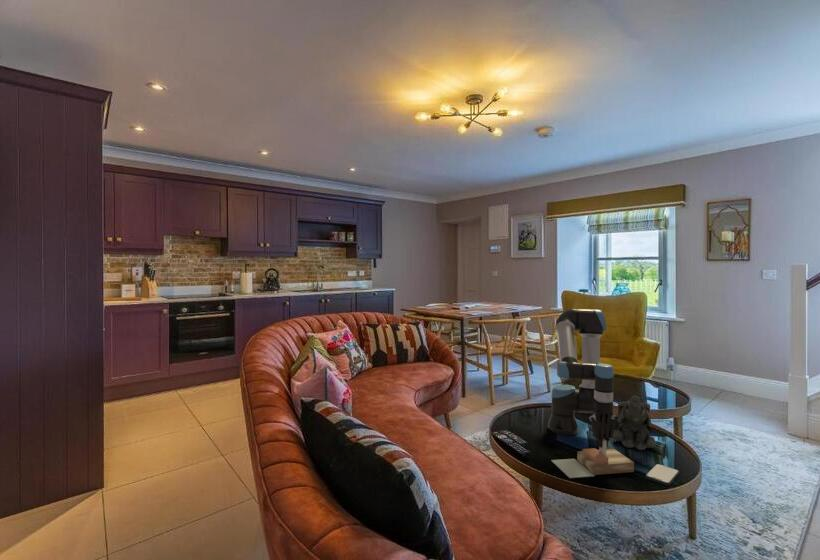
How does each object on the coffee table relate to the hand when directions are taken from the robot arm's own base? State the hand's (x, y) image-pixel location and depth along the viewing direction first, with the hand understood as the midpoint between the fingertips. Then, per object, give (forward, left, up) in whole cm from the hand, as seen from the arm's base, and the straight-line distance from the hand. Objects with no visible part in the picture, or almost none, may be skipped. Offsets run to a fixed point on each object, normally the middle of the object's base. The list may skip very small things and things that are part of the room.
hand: (602, 454), depth 173 cm
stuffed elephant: (-19, +30, -6) cm, 36 cm away
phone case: (+11, +20, -6) cm, 23 cm away
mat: (0, -14, -5) cm, 15 cm away
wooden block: (0, +1, -5) cm, 5 cm away
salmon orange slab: (0, -4, -1) cm, 4 cm away
